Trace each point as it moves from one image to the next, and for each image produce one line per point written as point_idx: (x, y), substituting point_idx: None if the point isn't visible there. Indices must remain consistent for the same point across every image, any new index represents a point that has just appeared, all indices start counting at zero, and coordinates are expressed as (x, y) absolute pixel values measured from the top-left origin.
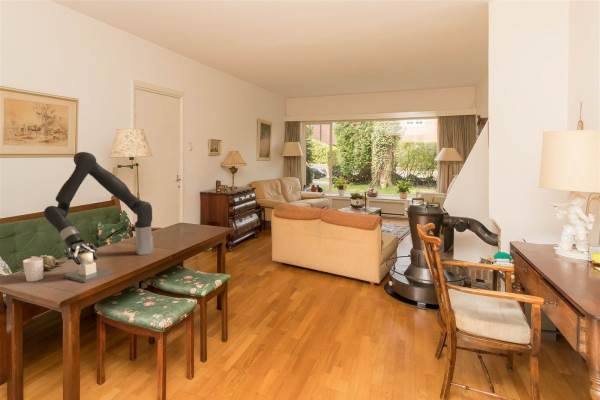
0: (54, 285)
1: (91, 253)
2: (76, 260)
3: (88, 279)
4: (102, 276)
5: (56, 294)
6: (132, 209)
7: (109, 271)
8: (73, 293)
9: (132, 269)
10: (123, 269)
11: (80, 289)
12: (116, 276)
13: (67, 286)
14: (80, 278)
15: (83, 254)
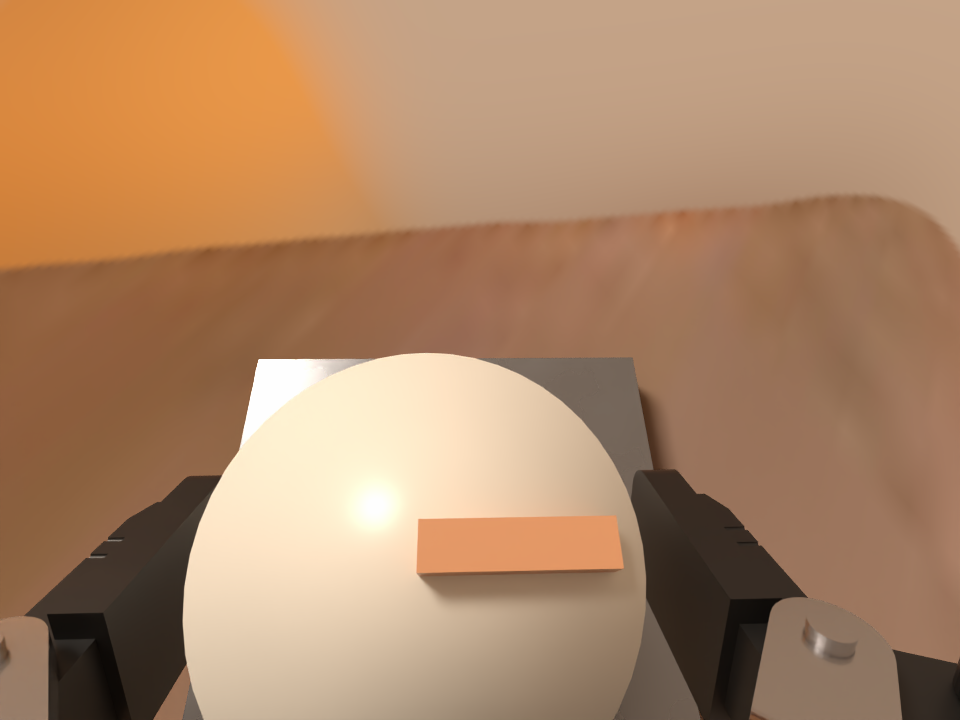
0: (918, 650)
1: (297, 432)
2: (752, 544)
3: (582, 363)
4: None
5: (939, 336)
6: None
7: (281, 360)
8: (810, 236)
9: (67, 290)
10: (79, 381)
11: (733, 262)
12: (330, 261)
13: (798, 447)
14: (640, 450)
15: (549, 516)
